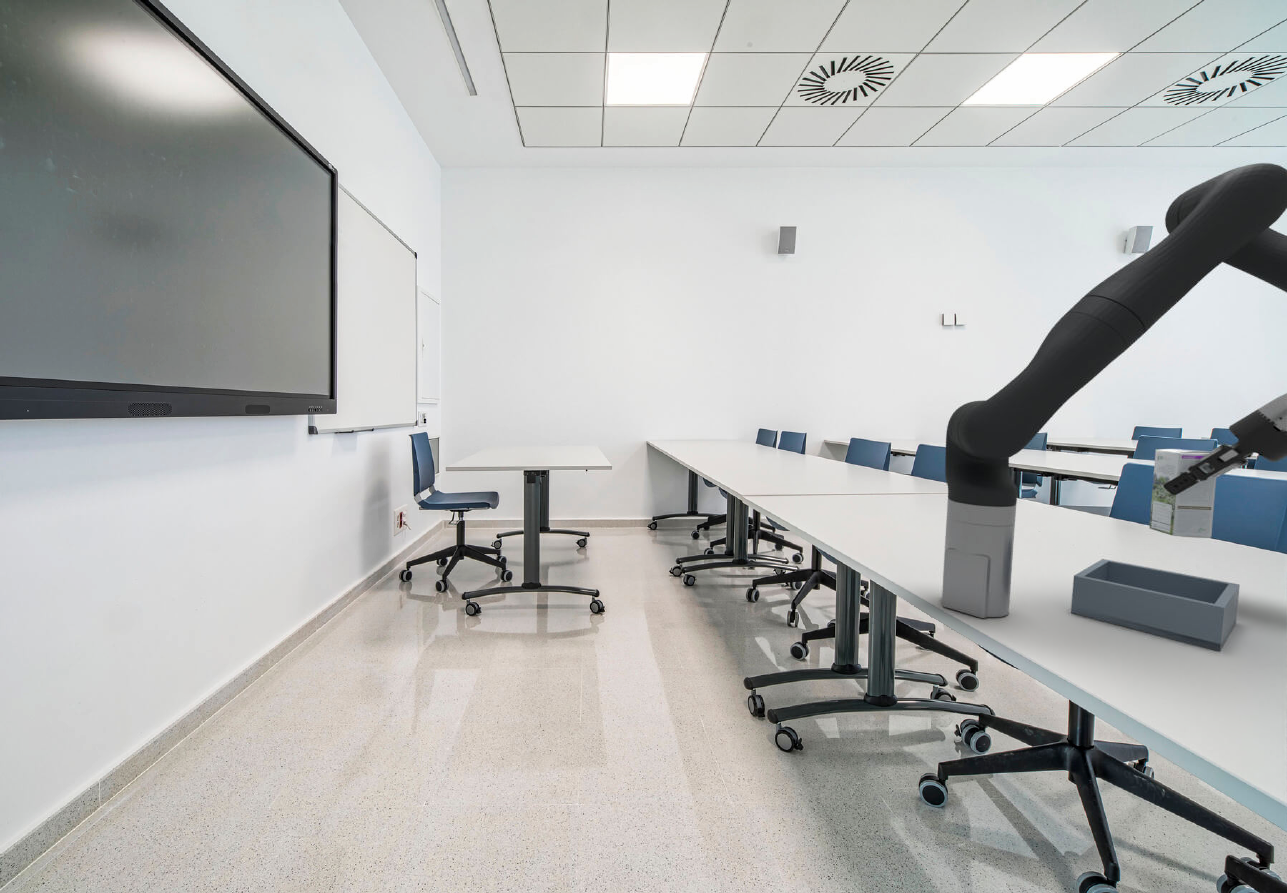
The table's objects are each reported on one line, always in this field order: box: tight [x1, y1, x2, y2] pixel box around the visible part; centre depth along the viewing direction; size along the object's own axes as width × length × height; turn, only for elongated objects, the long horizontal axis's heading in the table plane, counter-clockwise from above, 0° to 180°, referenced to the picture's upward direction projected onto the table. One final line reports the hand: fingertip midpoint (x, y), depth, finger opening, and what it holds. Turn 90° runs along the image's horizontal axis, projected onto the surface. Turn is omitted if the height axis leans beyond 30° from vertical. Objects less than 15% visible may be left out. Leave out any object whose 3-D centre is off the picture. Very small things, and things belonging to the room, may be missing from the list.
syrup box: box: [1149, 448, 1217, 539], centre depth 90 cm, size 6×6×14 cm
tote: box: [1070, 558, 1241, 652], centre depth 81 cm, size 16×16×6 cm
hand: (1173, 488), depth 91 cm, fingers closed on syrup box, 8 cm apart
